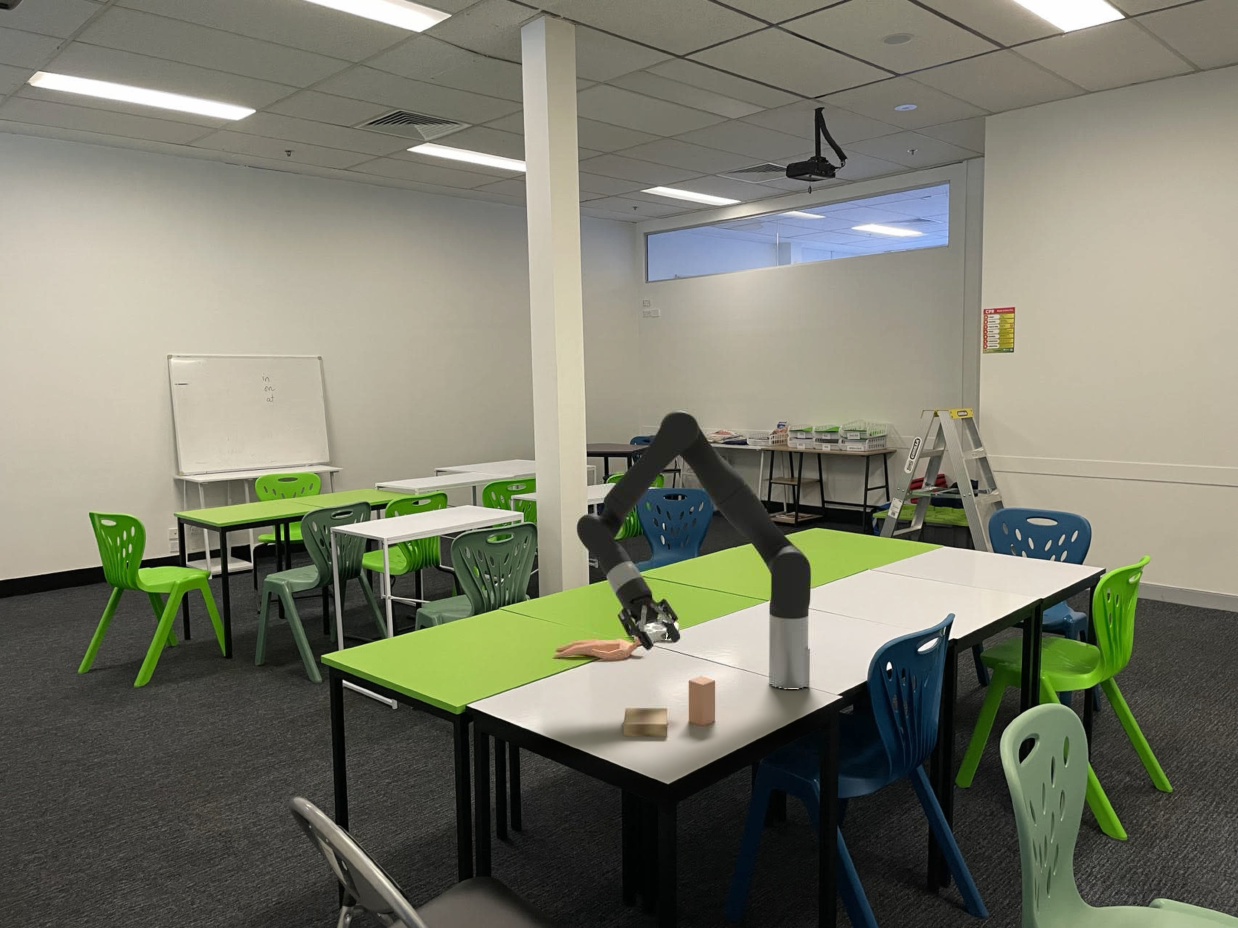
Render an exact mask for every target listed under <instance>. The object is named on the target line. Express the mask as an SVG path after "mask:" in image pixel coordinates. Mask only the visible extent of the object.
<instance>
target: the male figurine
mask: <svg viewBox="0 0 1238 928" xmlns="http://www.w3.org/2000/svg"><path fill="white" fill-rule="evenodd" d="M634 640H635V642H634ZM638 645H641V646H642V644H641V642H640V641H639V639H638V638H633V642H629V641H627V640H625V639H622V638H617V639H616V638H615V639H611V640H610V639H602V640H600V639H599V638H589V639H584V640H582V639H581V640H579V639H578V640H574V641H572V642H570V643H568V644H567V643H566V644H565V645H563V646H559V647H558V646H557V647H556V649H555V650H556V652H558V653H554V654H553V655H554V657H555V658H554V659H559V657H560V658H563V657H564V658H565V657H571V656H576V655H587V656H590V657H596V658H599V659H602V660H605V661H619V660H625V659H627V658H628V657H630V655H632V653H633V652H634V651H635V650H637V649H638Z"/></svg>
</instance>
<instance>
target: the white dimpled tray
mask: <svg viewBox="0 0 1238 928" xmlns="http://www.w3.org/2000/svg"><path fill="white" fill-rule="evenodd" d="M659 618H660V617H658V618H657V619H659ZM663 621H664V622H666V621H665V620H663ZM666 623H667V622H666ZM674 626H675V627H676V629H677V631H678V632H679V629H680V623H678V622H677V621H676V622H675V623H674ZM645 631H646V632H647V634H648V636H649V638H650V639H651V641H652V642H653V643H655V642H658V641H657V640H665V639H666V633H667V631H666V628H664V627H662V626H661V625H657V624H655V623H651V624H649V623H648V624H647V625H644V632H645ZM632 637H634V638H638V637H636V636H634V635H632V636H631V638H632ZM634 638H633V642H634V641H635V640H634ZM654 641H655V642H654ZM670 642H673V641H672V640H671V641H670Z"/></svg>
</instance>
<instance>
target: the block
mask: <svg viewBox="0 0 1238 928" xmlns="http://www.w3.org/2000/svg"><path fill="white" fill-rule="evenodd" d="M713 721H714V722H716V680H714V679H712V678H709V677H706V676H702V675H701V676H697V677H694V678H692V679H689V680H688V722H690V723H693V724H695V723H696V724H695V725H698V724H699V725H698V726H701V725H702V726H701V727H704V726H707V725H709V724H711V723H710V722H712V723H714V722H713ZM708 723H709V724H708ZM706 724H707V725H706ZM703 725H704V726H703Z"/></svg>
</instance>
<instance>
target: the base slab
mask: <svg viewBox="0 0 1238 928" xmlns="http://www.w3.org/2000/svg"><path fill="white" fill-rule="evenodd" d="M623 737H665V738H667V737H668V708H666V707H665V708H663V707H653V708H652V707H650V708H649V707H625V708H624V717H623Z"/></svg>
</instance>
